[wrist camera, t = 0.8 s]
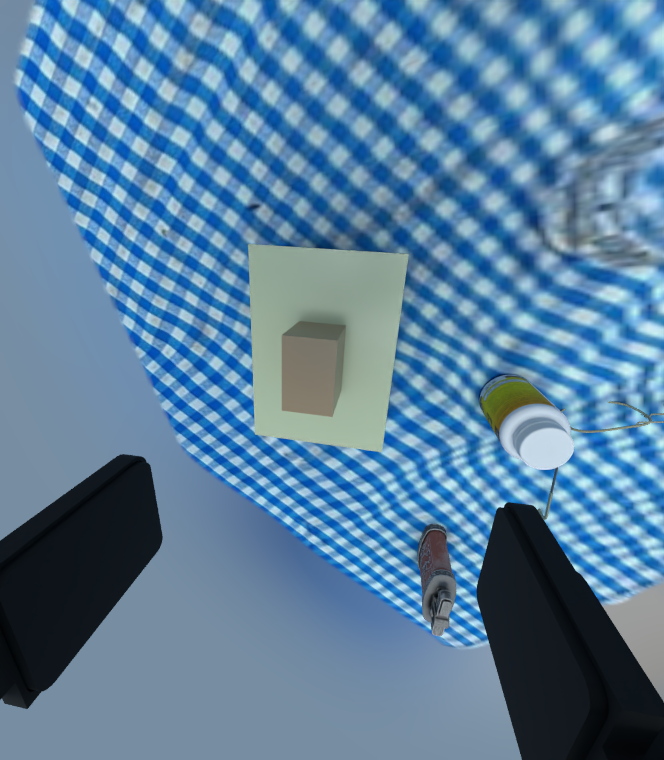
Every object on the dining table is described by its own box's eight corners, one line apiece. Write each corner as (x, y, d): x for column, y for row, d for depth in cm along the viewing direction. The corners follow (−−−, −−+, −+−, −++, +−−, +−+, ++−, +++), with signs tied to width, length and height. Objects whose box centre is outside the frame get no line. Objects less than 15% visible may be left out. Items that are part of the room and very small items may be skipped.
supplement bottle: (466, 396, 36) (493, 448, 27) (510, 362, 34) (555, 405, 25) (500, 429, 37) (539, 490, 28) (545, 397, 35) (602, 451, 26)
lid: (259, 244, 28) (218, 242, 22) (407, 253, 27) (413, 255, 20) (263, 422, 35) (233, 464, 28) (382, 438, 34) (380, 486, 27)
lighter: (438, 569, 46) (450, 649, 37) (413, 565, 46) (420, 643, 37) (450, 526, 43) (466, 601, 34) (423, 521, 43) (433, 594, 34)
